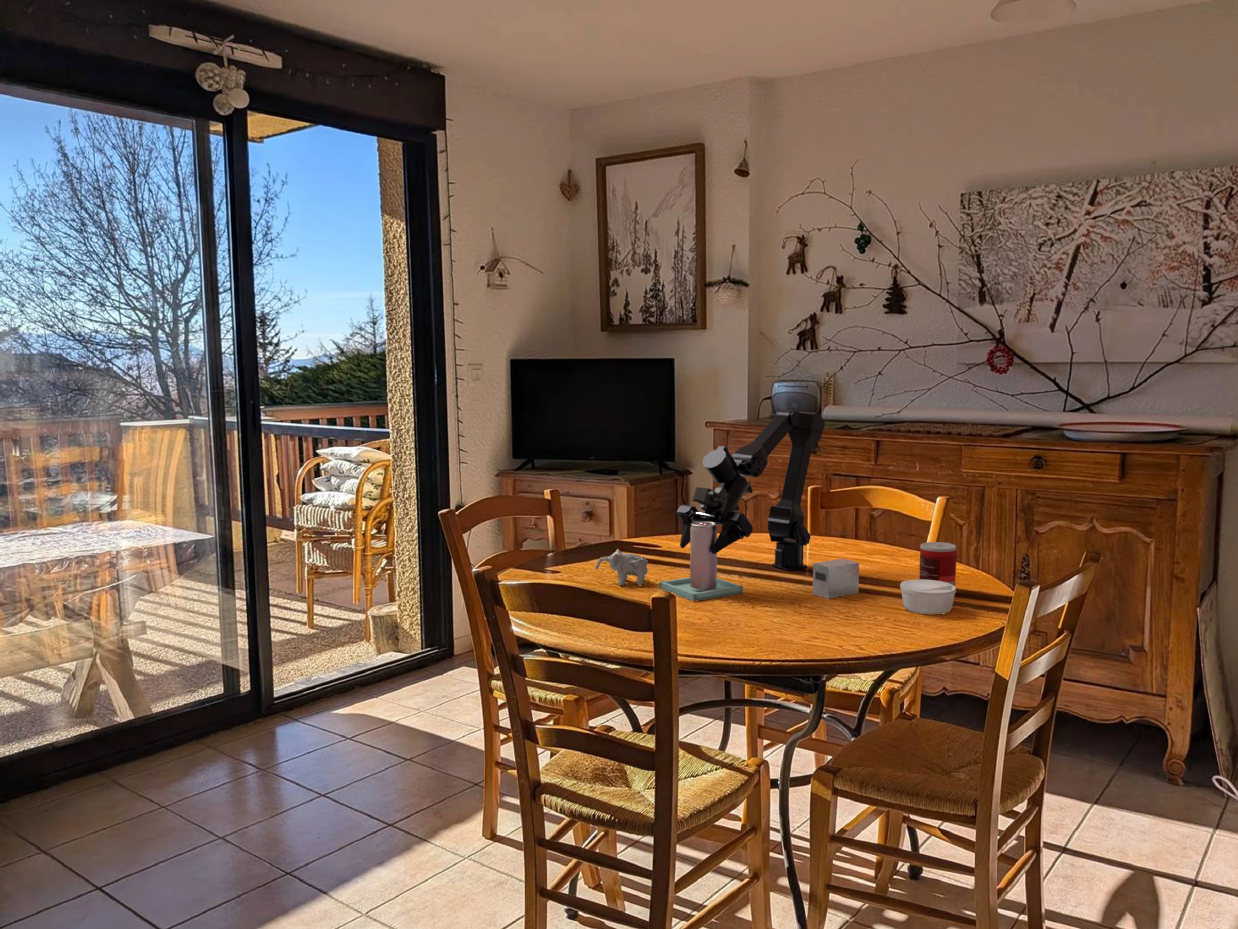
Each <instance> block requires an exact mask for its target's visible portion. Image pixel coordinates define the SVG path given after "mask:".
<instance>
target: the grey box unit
mask: <svg viewBox="0 0 1238 929" xmlns="http://www.w3.org/2000/svg"><path fill="white" fill-rule="evenodd" d="M859 576H860V562H858V561H854V560H851V559H846V558H839V559H831V560H825V561H819V562H813V563H812V595H815V596H817V597H821V598H824V599H827V600H829V599H834V598H835V597H836V598H840V597H839V596H841V597H845V595H847V596H852V595H857V594H859V586H860V585H859V582H860V581H859V579H860V577H859Z"/></svg>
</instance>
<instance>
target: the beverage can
mask: <svg viewBox="0 0 1238 929" xmlns="http://www.w3.org/2000/svg"><path fill="white" fill-rule="evenodd" d="M717 538H718V527H717V525H716V523H714V522H693V523H691V528H690V542H689V543H690V545H689V546H690V547H689V550H690V553H689V554H690V555H689V557H690V559H689V560H690V564H689V572H690V573H689V574H690V575H689V577H690V587H691V589H692V590H694V591H698V592H705V591H711V590H715V589H716V587H717V578H718V552H717V553H716V554H713V553H712V552H711V550H712V548H713V546H714V544H715V542H716V540H717Z"/></svg>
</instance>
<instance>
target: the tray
mask: <svg viewBox="0 0 1238 929" xmlns="http://www.w3.org/2000/svg"><path fill="white" fill-rule="evenodd" d="M658 582H659V585H658V586H659V588H661V589H662V590H661V589H660V590H661V591H664V590H667V591H666V592H667V593H669V592H673V593H675V594H676V595H675V594H674V595H675V596H677V597H680V598H683V597H684V598H683V599H685V598H687V599H686V600H688V599H690V600H689V601H691V600H693V601H694V602H696V601H695V600H700V601H705V600H704V599H706V600H711V598H712V599H719V598H723V597H730V596H737V595H741V594H744V586H743V585H741V584H736V583H734V582H731V581H729V580H725V579H722V578H718V577H717V587H716V589H715V590H711V591H705V592H698V591H694V590H692V589H691V587H690V576H689V577H683V578H676V579H671V580H669V579H668V580H665V581H664V580H663V581H658ZM678 595H679V596H678ZM681 596H682V597H681ZM693 601H692V602H693Z"/></svg>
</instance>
